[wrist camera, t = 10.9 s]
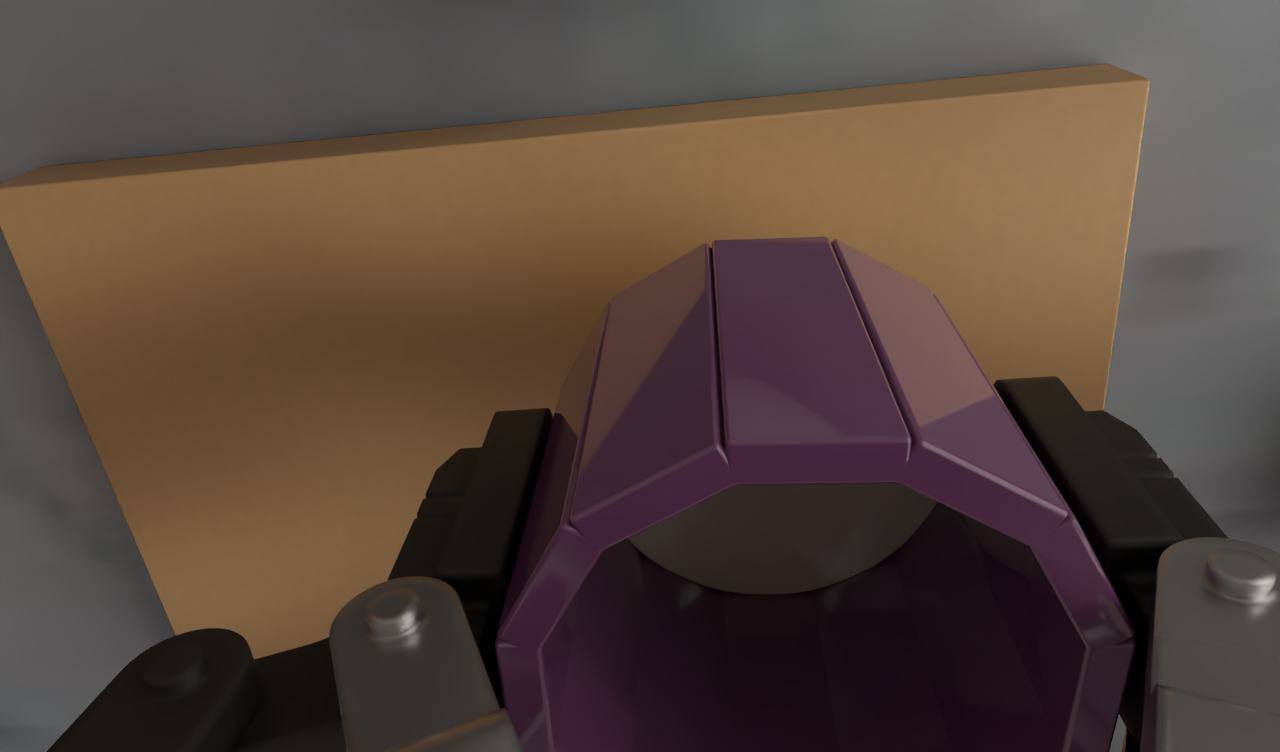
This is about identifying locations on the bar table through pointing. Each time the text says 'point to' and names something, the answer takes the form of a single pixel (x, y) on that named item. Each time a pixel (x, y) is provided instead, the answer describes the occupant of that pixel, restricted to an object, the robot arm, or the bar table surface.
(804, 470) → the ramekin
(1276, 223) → the bar table surface
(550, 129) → the oak board
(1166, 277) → the bar table surface
